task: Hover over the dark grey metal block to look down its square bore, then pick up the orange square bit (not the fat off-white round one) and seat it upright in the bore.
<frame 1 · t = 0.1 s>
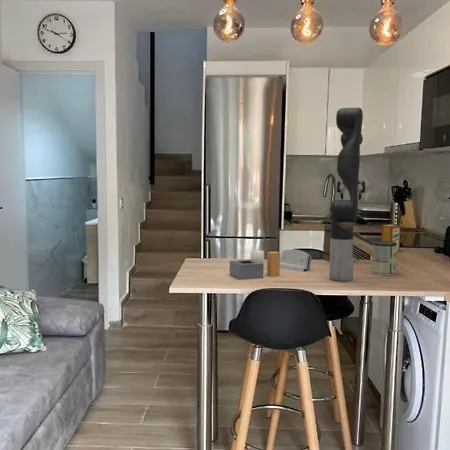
hand: (350, 199, 251), 31 cm above the counter, tool tilted 20°, fingers open, 8 cm apart
square bit: (273, 275, 208), on the counter
baking soda box: (390, 252, 279), on the counter
grey curved-top upright plate: (294, 269, 224), on the counter
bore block: (246, 275, 205), on the counter
coffee can: (383, 273, 214), on the counter
round bit: (257, 270, 218), on the counter
wooden container: (337, 260, 250), on the counter
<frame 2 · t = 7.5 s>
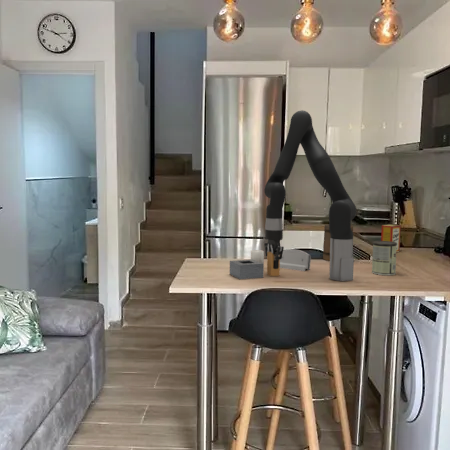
hand: (273, 267, 207), 3 cm above the counter, tool pointing down, fingers closed on square bit, 4 cm apart
square bit: (273, 275, 208), on the counter, touching gripper
when the fingers open (7 cm above the counter, at t = 12.3 s): square bit drops 3 cm, resting in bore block.
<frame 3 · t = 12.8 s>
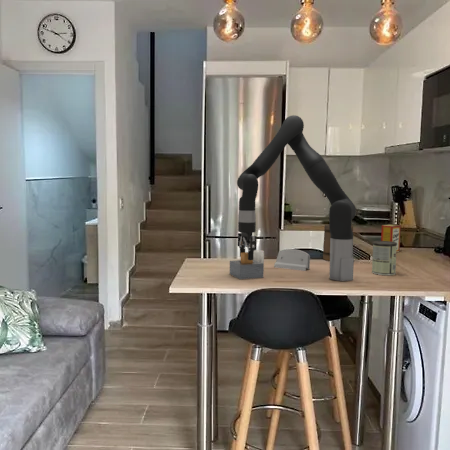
hand: (246, 258, 204), 8 cm above the counter, tool pointing down, fingers open, 8 cm apart
square bit: (246, 276, 205), resting in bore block
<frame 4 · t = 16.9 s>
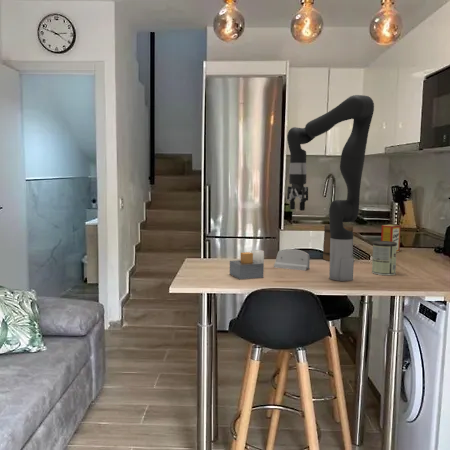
hand: (297, 209, 213), 28 cm above the counter, tool pointing down, fingers open, 8 cm apart
at the end: square bit 0.1 cm off-centre on the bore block, point 0.0 cm above the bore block's base; square bit tilted 0°; the gripper is holding nothing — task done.
